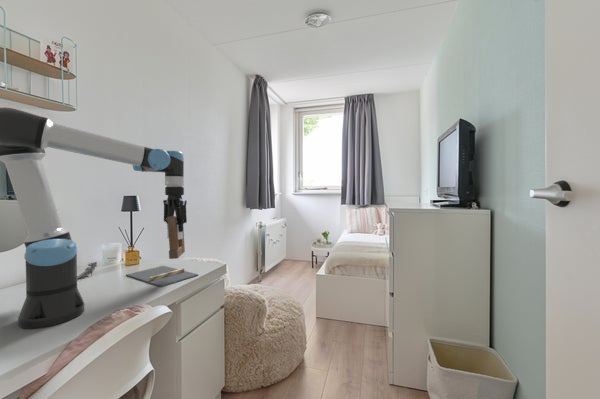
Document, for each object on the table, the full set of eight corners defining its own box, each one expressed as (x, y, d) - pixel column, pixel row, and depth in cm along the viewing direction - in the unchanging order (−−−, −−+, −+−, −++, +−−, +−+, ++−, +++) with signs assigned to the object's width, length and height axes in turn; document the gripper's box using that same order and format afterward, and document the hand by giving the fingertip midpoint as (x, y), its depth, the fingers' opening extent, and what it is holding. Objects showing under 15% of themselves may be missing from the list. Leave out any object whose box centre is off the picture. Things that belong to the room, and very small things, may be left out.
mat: (161, 287, 110) (161, 285, 110) (126, 275, 125) (126, 274, 125) (198, 275, 126) (198, 274, 125) (163, 266, 140) (163, 265, 140)
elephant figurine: (69, 278, 122) (87, 266, 130) (80, 286, 123) (97, 274, 131) (77, 266, 118) (95, 255, 126) (89, 275, 119) (106, 263, 127)
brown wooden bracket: (185, 251, 126) (182, 213, 124) (178, 258, 115) (175, 217, 113) (176, 252, 125) (174, 213, 124) (168, 259, 115) (165, 217, 113)
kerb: (151, 281, 116) (151, 277, 116) (149, 280, 116) (149, 277, 116) (184, 271, 129) (184, 268, 129) (182, 271, 130) (182, 268, 130)
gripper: (195, 186, 117) (195, 239, 118) (169, 186, 127) (170, 235, 128) (180, 185, 111) (180, 241, 111) (154, 186, 121) (154, 237, 121)
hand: (175, 238), depth 120 cm, fingers open, 6 cm apart
